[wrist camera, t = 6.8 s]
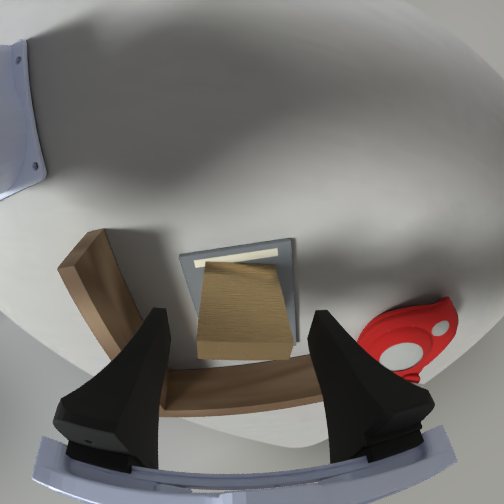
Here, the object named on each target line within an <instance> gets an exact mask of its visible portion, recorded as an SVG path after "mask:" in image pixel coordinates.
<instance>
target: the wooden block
mask: <svg viewBox="0 0 504 504" xmlns="http://www.w3.org/2000/svg"><path fill="white" fill-rule="evenodd" d="M293 345H294V339H293V335H292V331H291V327H290V323H289V319H288V314H287V310H286V306H285V302H284V298H283V294H282V290H281V286H280V282H279V278H278V274H277V271H276V267H275V264H257V263H232V262H209V261H205V269H204V277H203V285H202V293H201V302H200V311H199V321H198V331H197V355H198V359H213V360H289V358H290V355H291V351H292V348H293Z"/></svg>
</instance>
